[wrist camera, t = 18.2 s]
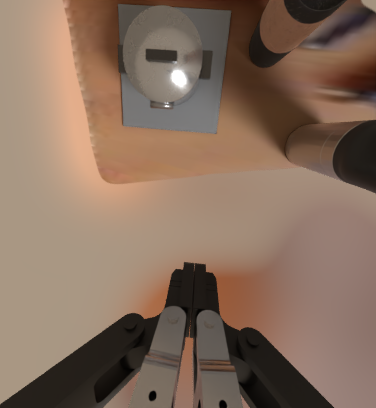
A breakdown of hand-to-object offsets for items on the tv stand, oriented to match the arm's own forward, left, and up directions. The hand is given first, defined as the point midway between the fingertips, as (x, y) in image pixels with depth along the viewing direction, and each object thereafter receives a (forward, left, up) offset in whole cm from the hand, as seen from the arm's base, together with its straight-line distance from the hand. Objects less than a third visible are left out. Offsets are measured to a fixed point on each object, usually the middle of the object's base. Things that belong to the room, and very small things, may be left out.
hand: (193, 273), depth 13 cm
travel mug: (-11, -26, -37) cm, 47 cm away
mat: (+8, -20, -37) cm, 43 cm away
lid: (+8, -20, -28) cm, 35 cm away
